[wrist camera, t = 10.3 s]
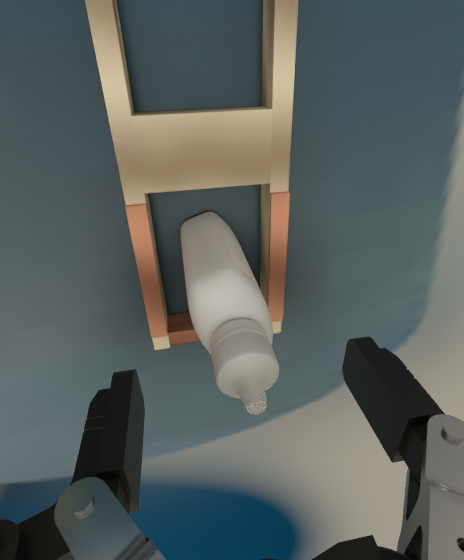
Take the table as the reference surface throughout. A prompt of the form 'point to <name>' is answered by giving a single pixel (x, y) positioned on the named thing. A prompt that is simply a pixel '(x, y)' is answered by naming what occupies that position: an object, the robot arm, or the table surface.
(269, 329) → the eye dropper bottle
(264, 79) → the rail
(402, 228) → the table surface
